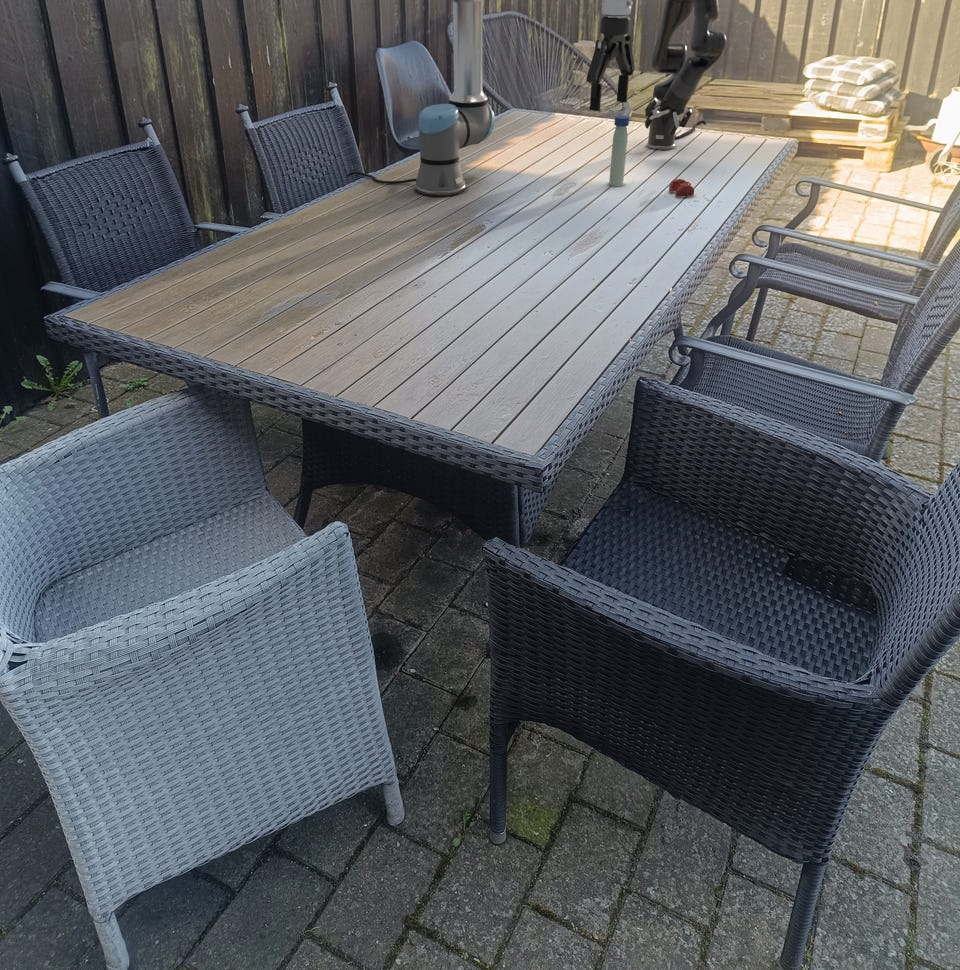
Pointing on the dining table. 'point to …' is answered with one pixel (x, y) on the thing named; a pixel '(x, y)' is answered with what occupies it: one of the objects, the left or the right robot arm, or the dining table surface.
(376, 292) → the dining table surface
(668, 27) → the right robot arm
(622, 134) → the bottle
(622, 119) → the cap
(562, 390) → the dining table surface
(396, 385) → the dining table surface
